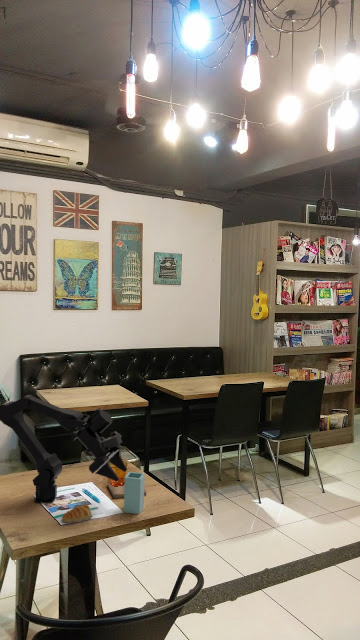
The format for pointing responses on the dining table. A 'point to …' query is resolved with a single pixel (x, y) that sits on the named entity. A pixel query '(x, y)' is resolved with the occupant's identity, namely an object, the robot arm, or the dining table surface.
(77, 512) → the pastry
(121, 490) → the tray
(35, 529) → the dining table surface
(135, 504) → the light blue square vase
